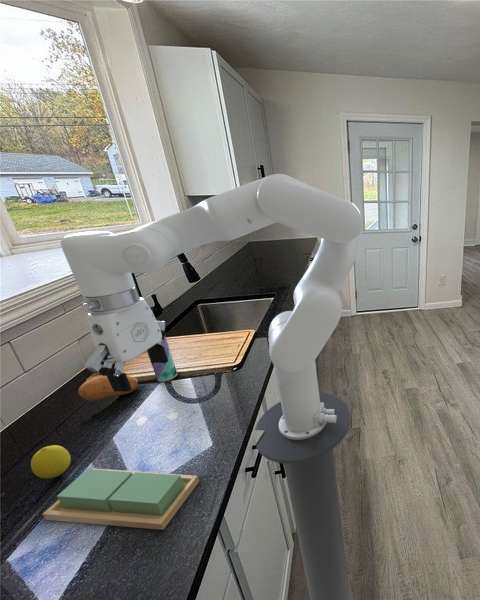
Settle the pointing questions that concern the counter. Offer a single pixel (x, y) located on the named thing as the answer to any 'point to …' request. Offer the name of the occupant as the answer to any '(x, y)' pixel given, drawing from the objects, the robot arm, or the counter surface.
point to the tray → (123, 519)
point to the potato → (102, 389)
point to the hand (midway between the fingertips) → (143, 375)
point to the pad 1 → (93, 490)
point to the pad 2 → (147, 494)
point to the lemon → (50, 461)
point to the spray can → (164, 366)
